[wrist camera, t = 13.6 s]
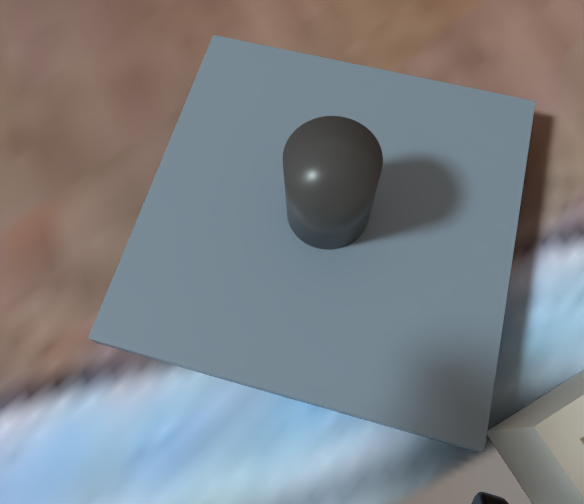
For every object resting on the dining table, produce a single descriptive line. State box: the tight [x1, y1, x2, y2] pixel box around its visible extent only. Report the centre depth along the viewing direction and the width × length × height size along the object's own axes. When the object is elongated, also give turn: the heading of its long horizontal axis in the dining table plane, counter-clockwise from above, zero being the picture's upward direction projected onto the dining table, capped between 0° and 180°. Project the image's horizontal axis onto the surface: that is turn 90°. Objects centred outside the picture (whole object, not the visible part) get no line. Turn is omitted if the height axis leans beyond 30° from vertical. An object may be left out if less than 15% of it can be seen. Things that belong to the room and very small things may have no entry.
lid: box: [88, 35, 535, 452], centre depth 22 cm, size 16×16×6 cm
